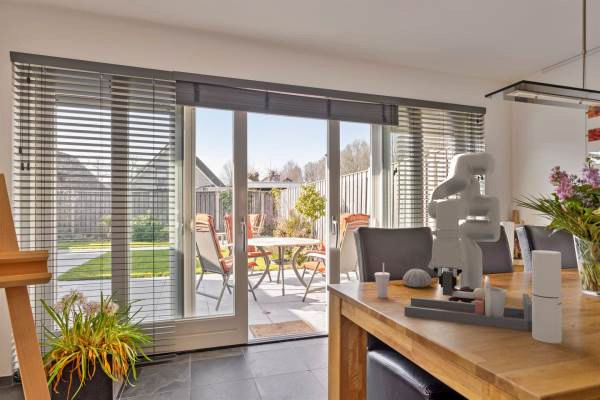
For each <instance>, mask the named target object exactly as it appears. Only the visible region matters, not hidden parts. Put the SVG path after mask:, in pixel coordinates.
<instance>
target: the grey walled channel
mask: <svg viewBox="0 0 600 400" xmlns="http://www.w3.org/2000/svg"><path fill="white" fill-rule="evenodd" d="M484 287H485V315H483V314H475V302H474V303H473V302H471V303H465V302H461V301H457V302H455V301H449V300H445V299H443V300H442V299H437V298H436V299H435V298H423V297H414V296H411V297H410V305H405V306H404V316H406V317H412V318H413V317H415V318H422V319H429V320H438V321H446V322H456V323H462V324H463V323H464V324H469V325H478V326H480V325H481V326H485V327H486V326H488V327H495V328H503V329H512V330H520V331H527V332H532V298H531V297H530V295H529V294H528V293H523V294H522V307H521V308H520V307H514V306H511V307H510V306H504V314H503V317H500V316H491V298H490V287H491V284H490V277H489V275H485V277H484Z"/></svg>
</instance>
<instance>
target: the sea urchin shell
mask: <svg viewBox="0 0 600 400" xmlns="http://www.w3.org/2000/svg"><path fill="white" fill-rule="evenodd" d="M402 282H403V284H404V285H405V286H407V287H410V288H426V287H429V286H430V285H432V282H433V279H432V277H431V275H430V274H429V272H427V271H425V270H424V269H420V268H412V269H409V270H407V271H406V272H405V273H404V275H403V277H402Z"/></svg>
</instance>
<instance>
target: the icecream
mask: <svg viewBox="0 0 600 400" xmlns="http://www.w3.org/2000/svg"><path fill="white" fill-rule="evenodd" d="M453 291H462V292H474V289H471V288H469V286H465V287H462V288H460V289H459V290H458V289H455V288H454V289H453ZM447 301H455V302H465V303H473V302H475V299H473V298H463V297H453V296H449V298H448V299H447Z"/></svg>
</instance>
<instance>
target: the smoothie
mask: <svg viewBox="0 0 600 400" xmlns="http://www.w3.org/2000/svg"><path fill="white" fill-rule="evenodd" d="M390 277H391V274H390V272H385V262H382V271H381V272H380V271H379V272H375V273H374V279H375V284H376V293H377V297H378V298H380V299H381V298H382V299H387V297H388V290H389V289H388V288H389V283H390Z"/></svg>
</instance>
